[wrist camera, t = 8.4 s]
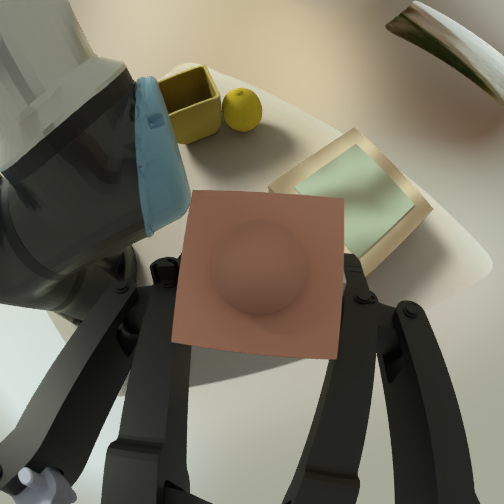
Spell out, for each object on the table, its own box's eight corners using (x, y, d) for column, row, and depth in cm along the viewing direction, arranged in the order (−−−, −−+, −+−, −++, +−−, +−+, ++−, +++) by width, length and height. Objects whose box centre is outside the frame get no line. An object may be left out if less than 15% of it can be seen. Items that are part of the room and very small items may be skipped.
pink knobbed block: (237, 327, 19) (162, 343, 7) (243, 264, 20) (186, 181, 8) (301, 333, 18) (341, 363, 6) (306, 269, 19) (348, 189, 7)
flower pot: (217, 102, 41) (204, 62, 32) (232, 137, 38) (220, 95, 30) (167, 121, 41) (147, 85, 32) (177, 159, 38) (154, 122, 30)
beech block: (270, 207, 35) (268, 184, 29) (345, 153, 36) (354, 126, 30) (341, 292, 32) (355, 286, 26) (413, 225, 33) (434, 208, 27)
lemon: (260, 143, 37) (255, 106, 30) (223, 140, 38) (211, 104, 31) (266, 116, 39) (263, 78, 31) (232, 113, 39) (223, 77, 32)
